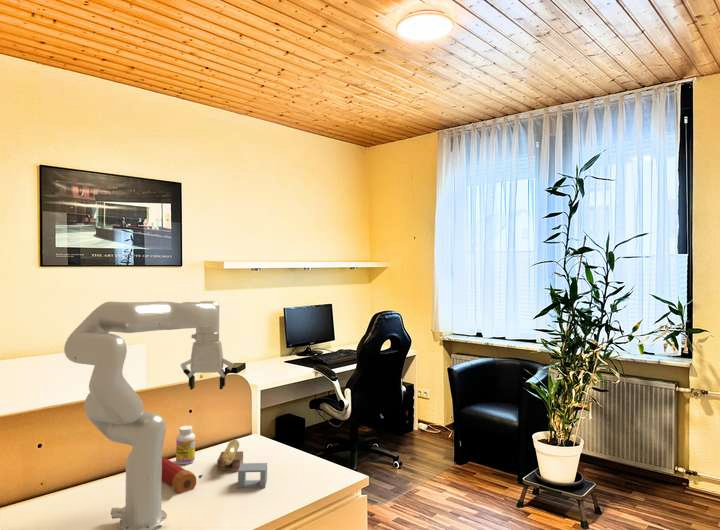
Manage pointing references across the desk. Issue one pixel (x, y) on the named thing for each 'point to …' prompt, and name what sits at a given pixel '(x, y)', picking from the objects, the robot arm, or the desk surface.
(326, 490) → the desk surface
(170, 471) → the shell casing
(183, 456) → the supplement bottle
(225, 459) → the axle
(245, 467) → the grey hollow block
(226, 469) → the v block
